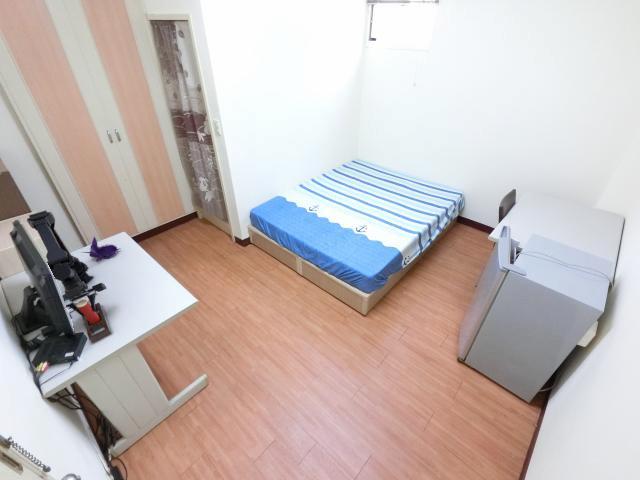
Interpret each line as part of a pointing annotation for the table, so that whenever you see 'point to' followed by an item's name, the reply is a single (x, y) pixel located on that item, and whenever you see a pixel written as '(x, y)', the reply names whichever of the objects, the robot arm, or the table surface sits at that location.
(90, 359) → the table surface
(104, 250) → the creature
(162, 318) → the table surface
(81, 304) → the red cylinder
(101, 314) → the brown wooden rack
